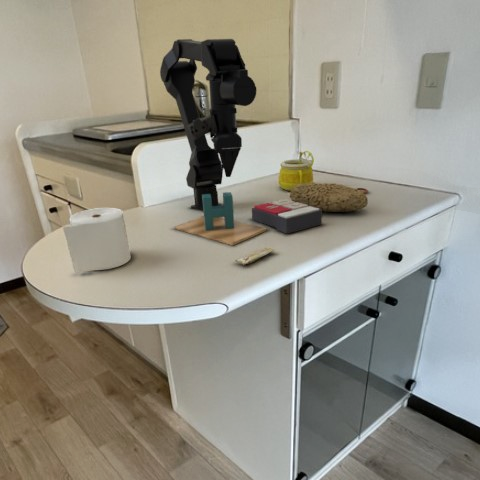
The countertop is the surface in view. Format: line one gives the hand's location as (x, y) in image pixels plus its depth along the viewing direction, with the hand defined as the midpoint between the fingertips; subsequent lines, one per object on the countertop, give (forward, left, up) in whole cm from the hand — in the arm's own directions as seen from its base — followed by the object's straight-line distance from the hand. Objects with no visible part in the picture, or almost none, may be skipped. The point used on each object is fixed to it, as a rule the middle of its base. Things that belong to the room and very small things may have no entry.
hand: (226, 172), depth 110 cm
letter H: (+4, -8, -11) cm, 14 cm away
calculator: (+14, +6, -12) cm, 19 cm away
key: (+17, +35, -12) cm, 41 cm away
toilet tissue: (-2, -37, -12) cm, 39 cm away
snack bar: (+23, -17, -12) cm, 31 cm away
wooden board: (+4, -8, -12) cm, 15 cm away
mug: (-3, +34, -12) cm, 36 cm away
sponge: (+17, +21, -12) cm, 30 cm away
